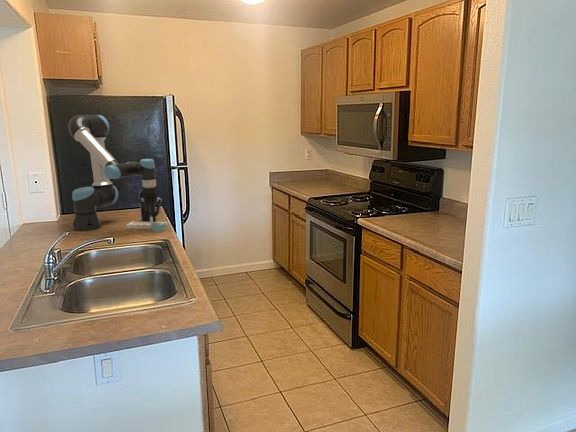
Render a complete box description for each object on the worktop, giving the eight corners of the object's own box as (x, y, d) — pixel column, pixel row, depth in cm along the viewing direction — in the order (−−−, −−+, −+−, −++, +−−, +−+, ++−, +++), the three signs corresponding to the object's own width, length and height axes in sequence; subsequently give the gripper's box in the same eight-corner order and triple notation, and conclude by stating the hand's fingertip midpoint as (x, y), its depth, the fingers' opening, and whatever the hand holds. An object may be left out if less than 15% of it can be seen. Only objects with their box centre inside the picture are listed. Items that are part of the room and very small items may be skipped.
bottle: (153, 222, 265) (149, 173, 258) (138, 222, 265) (134, 174, 258) (158, 218, 274) (154, 171, 267) (143, 218, 274) (139, 171, 267)
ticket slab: (126, 228, 251) (126, 224, 251) (132, 224, 259) (131, 221, 258) (163, 228, 250) (163, 225, 249) (167, 225, 258) (167, 221, 257)
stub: (152, 231, 244) (152, 224, 244) (155, 229, 249) (155, 222, 248) (163, 231, 244) (162, 224, 243) (166, 229, 249) (165, 222, 248)
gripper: (135, 187, 238) (139, 229, 243) (158, 187, 237) (161, 229, 243) (140, 185, 245) (144, 225, 251) (163, 185, 244) (166, 225, 250)
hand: (152, 227), depth 247 cm, fingers closed
